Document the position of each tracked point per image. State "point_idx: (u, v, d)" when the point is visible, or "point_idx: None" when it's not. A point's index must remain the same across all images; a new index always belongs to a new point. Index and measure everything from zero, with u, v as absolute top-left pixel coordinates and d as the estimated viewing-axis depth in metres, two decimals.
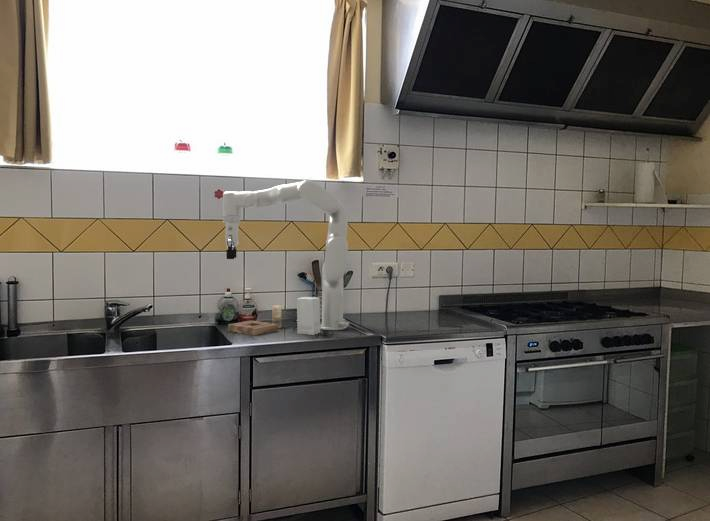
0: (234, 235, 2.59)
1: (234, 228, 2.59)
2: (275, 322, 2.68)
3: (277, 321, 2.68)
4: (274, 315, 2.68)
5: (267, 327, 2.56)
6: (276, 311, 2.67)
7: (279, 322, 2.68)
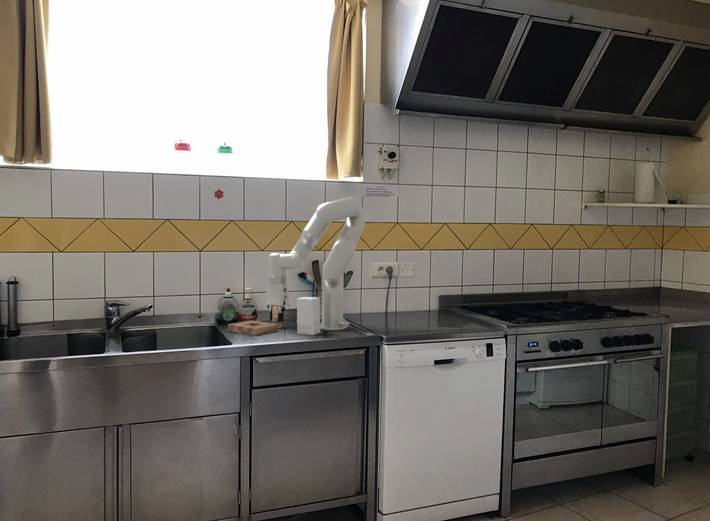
0: (287, 296, 2.68)
1: (287, 289, 2.68)
2: (275, 322, 2.68)
3: (277, 321, 2.68)
4: (274, 315, 2.68)
5: (267, 327, 2.56)
6: (276, 311, 2.67)
7: (279, 322, 2.68)
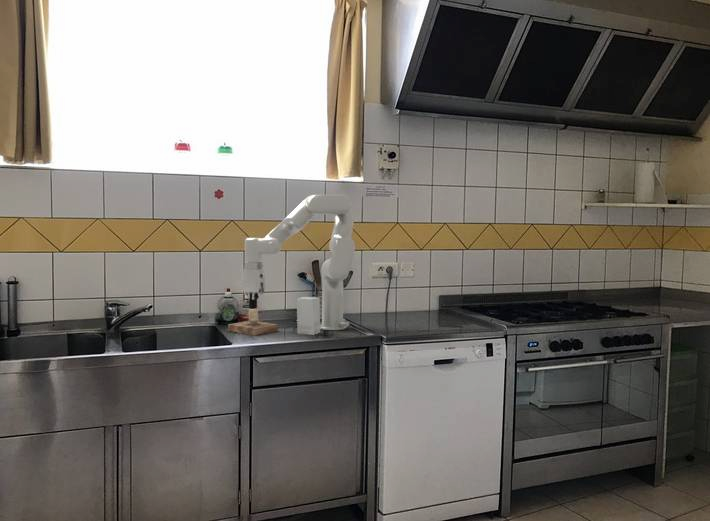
0: (264, 282, 2.58)
1: (264, 275, 2.58)
2: (251, 325, 2.58)
3: (253, 324, 2.58)
4: (250, 318, 2.58)
5: (267, 327, 2.56)
6: (253, 314, 2.58)
7: (255, 325, 2.59)
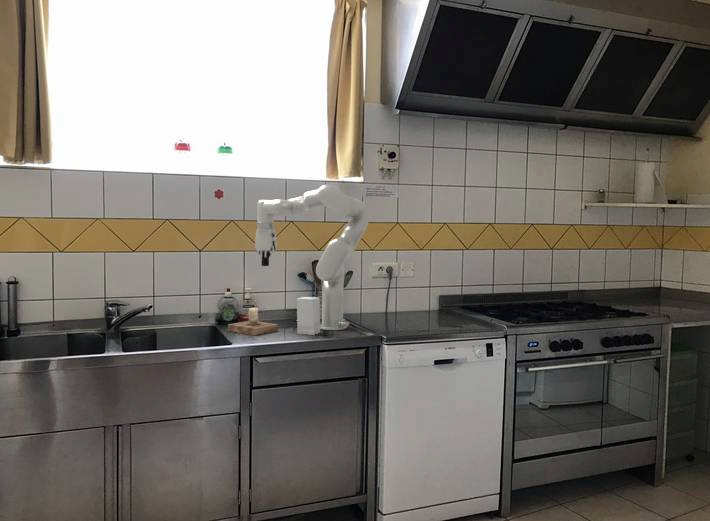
0: (275, 241, 2.77)
1: (275, 234, 2.77)
2: (251, 325, 2.58)
3: (253, 324, 2.58)
4: (250, 318, 2.58)
5: (267, 327, 2.56)
6: (253, 314, 2.58)
7: (255, 325, 2.59)
